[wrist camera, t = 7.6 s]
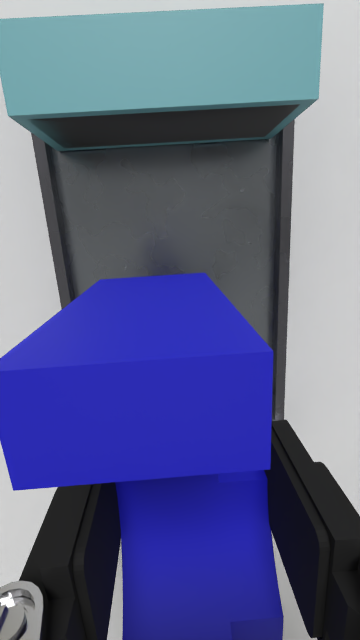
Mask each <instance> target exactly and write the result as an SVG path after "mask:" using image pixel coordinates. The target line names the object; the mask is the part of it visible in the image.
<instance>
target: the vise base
mask: <svg viewBox="0 0 360 640" xmlns="http://www.w3.org/2000/svg"><path fill="white" fill-rule="evenodd" d="M31 134H32V140H33V146H34V152H35V157H36V163H37V169H38V175H39V180H40V186H41V192H42V198H43V204H44V209H45V215H46V221H47V227H48V232H49V238H50V244H51V250H52V255H53V261H54V267H55V273H56V279H57V284H58V290H59V296H60V302H61V307H62V309H63V308H65V307H66V306H67V305H68V304H70V303H71V302H72V301H73V300H75V299H76V298H77V297H79V296H80V295H81V294H82V293H84V292H85V291H86V290H87V289H89V288H90V287H91V286H92V285H94V284H95V283H96V282H97V281H99V280H101V279H116V278H131V277H146V276H161V275H176V274H191V273H206V274H207V276H208V277H209V278H210V279H211V280H212V281H213V282H214V284H215V285H216V286H217V287H218V288H219V289H220V290H221V292H222V293H223V294H224V295H225V296H226V297H227V299H228V300H229V301H230V302H231V303H232V304H233V305H234V307H235V308H236V309H237V310H238V311H239V312H240V313H241V315H242V316H243V317H244V318H245V319H246V320H247V322H248V323H249V324H250V325H251V326H252V327H253V328H254V330H255V331H256V332H257V333H258V334H259V335H260V336H261V338H262V339H263V340H264V341H265V342H266V343H267V344H268V346H269V347H270V348H271V349H272V350H273V385H272V421H277V420H284V398H285V370H286V342H287V314H288V287H289V259H290V231H291V203H292V175H293V147H294V120H293V121H291V122H290V123H289V124H288V125H287V126H286V127H284V128H283V129H282V130H281V131H280V132H278V133H277V134H276V135H275V136H274V137H273V138H271V139H258V140H241V141H224V142H207V143H190V144H173V145H155V146H138V147H121V148H104V149H87V150H69V151H57V150H55V149H54V148H53V147H51V146H50V145H48V144H47V143H46V142H44V141H43V140H41V139H40V138H39V137H37V136H36V135H34V134H33V133H31ZM120 543H121V541H120Z"/></svg>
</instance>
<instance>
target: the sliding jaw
mask: <svg viewBox="0 0 360 640" xmlns="http://www.w3.org/2000/svg"><path fill="white" fill-rule="evenodd" d="M323 5H324V3H323V4H302V5H281V6H260V7H239V8H219V9H198V10H177V11H156V12H135V13H114V14H94V15H73V16H52V17H31V18H10V19H0V76H1V81H2V87H3V92H4V97H5V102H6V108H7V113H8V116H9V117H10V118H12V119H13V120H15V121H16V122H17V123H19V124H20V125H22V126H23V127H24V128H26V129H27V130H29V131H30V132H31V133H33V134H34V135H36V136H37V137H39V138H40V139H41V140H43V141H44V142H46V143H47V144H48V145H50V146H51V147H53V148H54V149H55V150H57V151H69V150H87V149H104V148H121V147H138V146H155V145H173V144H190V143H207V142H224V141H241V140H258V139H271V138H273V137H274V136H275V135H276V134H277V133H278V132H280V131H281V130H282V129H283V128H284V127H286V126H287V125H288V124H289V123H290V122H291V121H293V120H294V119H295V118H296V117H297V116H299V115H300V114H301V113H302V112H303V111H305V110H306V109H307V108H308V107H309V106H310V105H312V104H313V103H314V102H315V101H316V100H318V98H319V79H320V61H321V42H322V24H323Z"/></svg>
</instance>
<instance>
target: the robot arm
mask: <svg viewBox="0 0 360 640" xmlns="http://www.w3.org/2000/svg"><path fill="white" fill-rule="evenodd" d="M264 472H265V474H266V477H267V493H268V516H269V525H270V528H271V531H272V533H273V536H274V539H275V542H276V545H277V548H278V550H279V553H280V556H281V559H282V562H283V565H284V567H285V570H286V573H287V576H288V579H289V582H290V584H291V587H292V590H293V593H294V596H295V599H296V601H297V604H298V607H299V610H300V613H301V616H302V618H303V621H304V624H305V627H306V630H307V632H308V634H309V636H310V637H311V638H316V637H317V639H318V640H360V516H359V514H358V513H357V511H356V510H355V509H354V507H353V506H352V504H351V503H350V501H349V500H348V498H347V497H346V495H345V494H344V492H343V491H342V489H341V488H340V486H339V485H338V483H337V482H336V480H335V479H334V477H333V476H332V475H331V473H330V472H329V470H328V469H327V467H326V466H325V465H324V464H323V463H321V462H313V460H312V459H311V457H310V455H309V454H308V452H307V451H306V449H305V448H304V446H303V444H302V443H301V441H300V440H299V438H298V437H297V435H296V433H295V432H294V430H293V429H292V427H291V426H290V424H289V422H288V421H287V420H277V421H272V424H271V463H270V469H269V470H264ZM120 541H121V528H120V516H119V506H118V498H117V491H116V484H115V482H111V483H99V484H86V485H74V486H62V487H58V488H57V490H56V492H55V494H54V497H53V499H52V502H51V504H50V506H49V509H48V511H47V514H46V516H45V519H44V521H43V523H42V526H41V528H40V531H39V533H38V536H37V538H36V540H35V543H34V545H33V548H32V550H31V553H30V555H29V557H28V560H27V562H26V565H25V567H24V570H23V572H22V574H21V577H20V579H19V581H17V582H11V583H9V584H7V585H5V586H2V587H0V640H107V634H108V627H109V620H110V613H111V605H112V598H113V591H114V584H115V577H116V570H117V563H118V555H119V548H120Z"/></svg>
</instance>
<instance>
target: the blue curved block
mask: <svg viewBox="0 0 360 640" xmlns="http://www.w3.org/2000/svg"><path fill="white" fill-rule="evenodd" d="M272 385H273V350H272V349H271V348H270V347H269V346H268V344H267V343H266V342H265V341H264V340H263V339H262V338H261V336H260V335H259V334H258V333H257V332H256V331H255V330H254V328H253V327H252V326H251V325H250V324H249V323H248V322H247V320H246V319H245V318H244V317H243V316H242V315H241V313H240V312H239V311H238V310H237V309H236V308H235V307H234V305H233V304H232V303H231V302H230V301H229V300H228V299H227V297H226V296H225V295H224V294H223V293H222V292H221V290H220V289H219V288H218V287H217V286H216V285H215V284H214V282H213V281H212V280H211V279H210V278H209V277H208V276H207V274H206V273H191V274H176V275H161V276H146V277H131V278H116V279H101V280H99V281H97V282H96V283H95V284H94V285H92V286H91V287H90V288H89V289H87V290H86V291H85V292H84V293H82V294H81V295H80V296H79V297H77V298H76V299H75V300H73V301H72V302H71V303H70V304H68V305H67V306H66V307H65V308H63V309H62V310H61V311H60V312H58V313H57V314H56V315H55V316H53V317H52V318H51V319H49V320H48V321H47V322H46V323H44V324H43V325H42V326H41V327H39V328H38V329H37V330H36V331H34V332H33V333H32V334H31V335H29V336H28V337H27V338H26V339H24V340H23V341H22V342H20V343H19V344H18V345H17V346H15V347H14V348H13V349H12V350H10V351H9V352H8V353H7V354H5V355H4V356H3V357H2V358H0V441H1V445H2V449H3V452H4V456H5V460H6V464H7V468H8V472H9V475H10V479H11V483H12V487H13V490H26V489H38V488H50V487H62V486H74V485H86V484H99V483H111V482H115V484H116V491H117V498H118V506H119V516H120V528H121V544H122V570H123V640H282V636H283V612H282V606H281V600H280V594H279V588H278V582H277V575H276V568H275V560H274V553H273V544H272V534H271V528H270V525H269V516H268V493H267V477H266V474H265V472H264V470H269V469H270V463H271V424H272Z"/></svg>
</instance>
